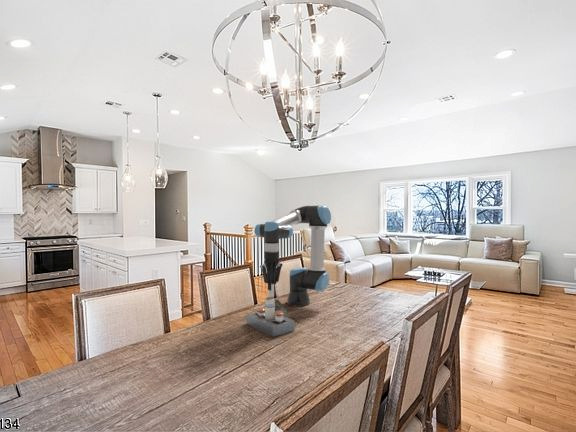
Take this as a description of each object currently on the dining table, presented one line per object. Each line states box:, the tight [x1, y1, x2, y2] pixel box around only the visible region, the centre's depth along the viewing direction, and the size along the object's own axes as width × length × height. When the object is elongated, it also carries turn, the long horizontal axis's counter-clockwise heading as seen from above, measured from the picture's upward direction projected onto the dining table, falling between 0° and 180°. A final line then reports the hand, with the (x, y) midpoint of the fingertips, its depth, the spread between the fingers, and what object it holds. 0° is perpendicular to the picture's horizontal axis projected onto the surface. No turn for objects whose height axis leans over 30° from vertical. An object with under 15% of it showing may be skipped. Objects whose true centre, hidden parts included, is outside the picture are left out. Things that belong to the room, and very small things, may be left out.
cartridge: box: [264, 296, 276, 321], centre depth 169 cm, size 5×5×16 cm
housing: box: [246, 311, 296, 338], centre depth 169 cm, size 14×24×5 cm, turn 39°
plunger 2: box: [274, 311, 284, 324], centre depth 163 cm, size 5×5×7 cm
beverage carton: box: [275, 299, 288, 318], centre depth 189 cm, size 8×19×7 cm, turn 16°
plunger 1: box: [256, 307, 265, 316], centre depth 176 cm, size 5×5×7 cm
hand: (271, 296), depth 167 cm, fingers closed
